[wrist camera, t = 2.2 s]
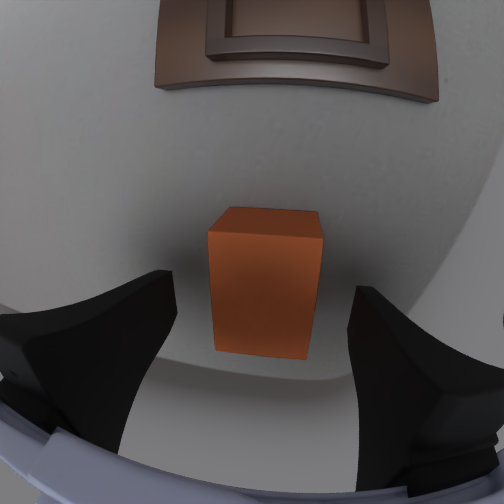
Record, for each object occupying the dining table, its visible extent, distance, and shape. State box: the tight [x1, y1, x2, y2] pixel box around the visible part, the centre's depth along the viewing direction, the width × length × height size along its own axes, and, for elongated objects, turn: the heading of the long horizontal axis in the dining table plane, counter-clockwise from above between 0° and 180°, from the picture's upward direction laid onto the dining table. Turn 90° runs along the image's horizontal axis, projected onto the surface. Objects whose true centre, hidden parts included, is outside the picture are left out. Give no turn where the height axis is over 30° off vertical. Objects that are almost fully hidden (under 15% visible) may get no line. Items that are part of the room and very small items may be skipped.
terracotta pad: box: [207, 207, 324, 360], centre depth 12 cm, size 6×4×4 cm
